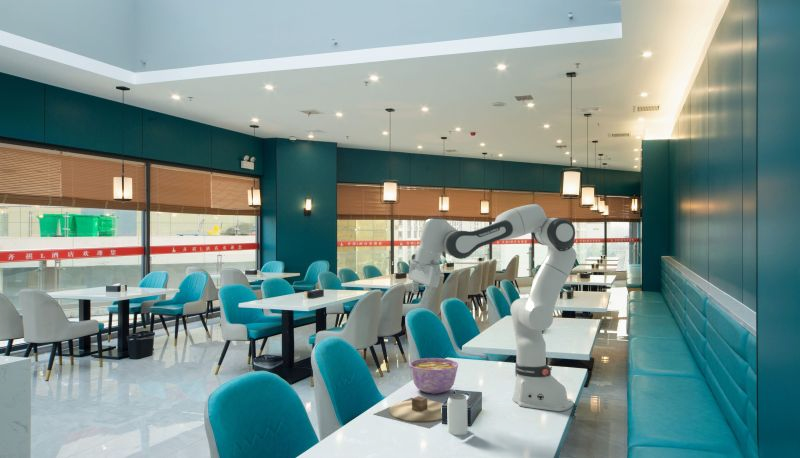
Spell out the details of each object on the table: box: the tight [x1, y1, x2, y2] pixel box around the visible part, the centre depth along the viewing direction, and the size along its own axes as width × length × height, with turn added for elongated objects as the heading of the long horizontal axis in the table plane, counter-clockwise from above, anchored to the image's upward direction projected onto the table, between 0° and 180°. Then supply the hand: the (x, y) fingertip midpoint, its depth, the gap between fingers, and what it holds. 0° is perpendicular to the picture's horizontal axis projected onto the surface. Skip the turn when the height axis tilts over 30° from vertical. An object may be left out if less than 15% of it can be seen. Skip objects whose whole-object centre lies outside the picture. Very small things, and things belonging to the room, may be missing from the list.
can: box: [446, 393, 468, 436], centre depth 178 cm, size 6×6×12 cm
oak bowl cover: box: [389, 395, 444, 422], centre depth 197 cm, size 22×22×5 cm
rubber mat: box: [372, 397, 443, 429], centre depth 197 cm, size 24×24×1 cm
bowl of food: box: [408, 357, 459, 394], centre depth 223 cm, size 20×20×12 cm
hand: (419, 295), depth 205 cm, fingers open, 8 cm apart
